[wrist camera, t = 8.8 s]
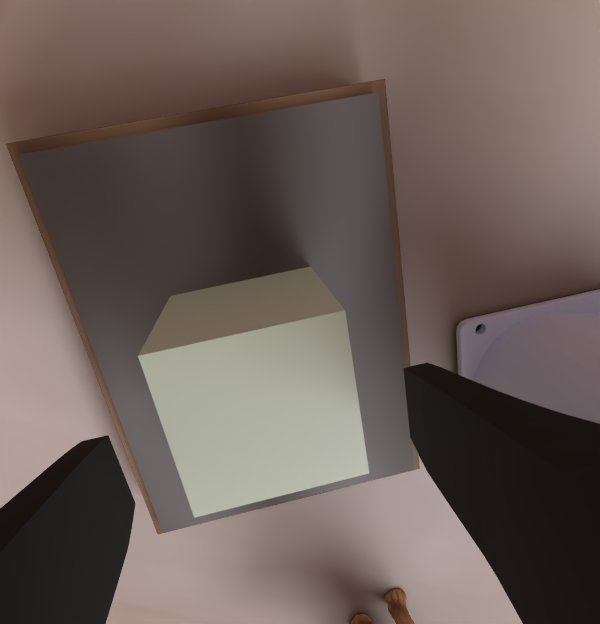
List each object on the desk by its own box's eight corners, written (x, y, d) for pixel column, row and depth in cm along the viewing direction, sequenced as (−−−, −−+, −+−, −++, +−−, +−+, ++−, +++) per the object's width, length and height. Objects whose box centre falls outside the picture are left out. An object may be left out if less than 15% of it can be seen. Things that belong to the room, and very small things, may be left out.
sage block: (310, 266, 15) (345, 310, 10) (331, 387, 16) (369, 473, 12) (170, 295, 14) (138, 355, 10) (206, 416, 16) (194, 517, 11)
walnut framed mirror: (365, 91, 15) (389, 76, 13) (402, 440, 21) (423, 474, 18) (37, 147, 14) (-2, 142, 12) (165, 498, 20) (156, 542, 17)
